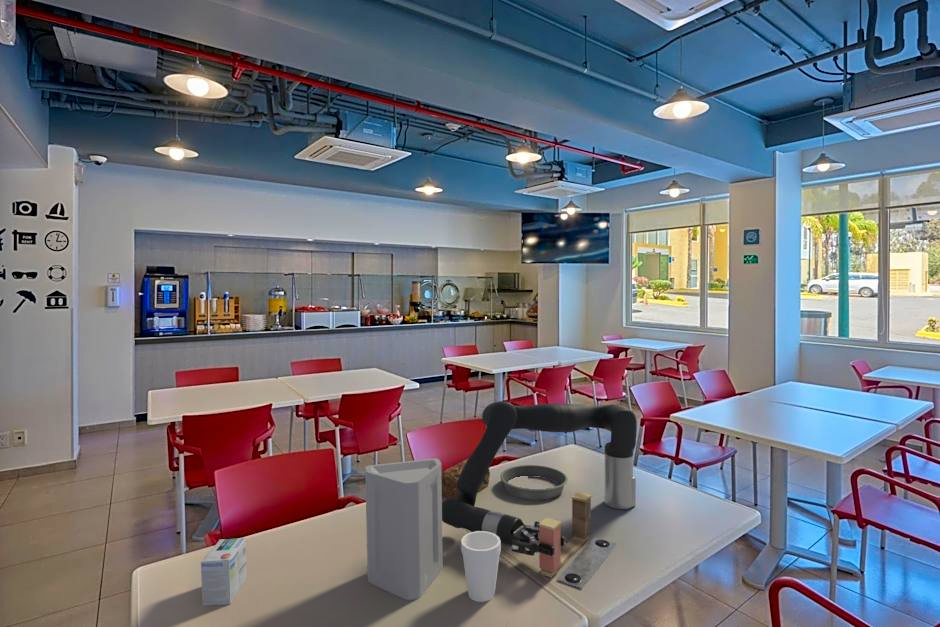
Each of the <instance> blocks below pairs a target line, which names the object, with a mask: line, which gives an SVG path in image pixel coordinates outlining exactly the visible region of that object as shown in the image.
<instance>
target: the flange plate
mask: <svg viewBox="0 0 940 627" xmlns="http://www.w3.org/2000/svg"><path fill="white" fill-rule="evenodd" d="M616 546H617V543H616V542H612V541H609V540H606V539H603V538H600V537H599V538H598V537H593V538H592V539H591V541H590V542H589V543H588V544H587V545H586V546H585V548H583V549H582V551H581V552H580V553H579V554H578V555H577V556H576V558H574V559H573V560H572V561H571V563H570V564H569V565H568V566H567V567H566V568H564V571H563V572H562V573H561V574H560V575H559V576H558V577H557V579H556V580H559V581H558V582H560V581H562V582H561V583H563V582H565V583H564V584H566V583H568V584H571V585H574V586H577V587H579V588H582V587H583V586H584V585H586V584H587V583H588V582H589V580H591V578H592V577H591V576H593V575H594V574H595V573H596V572H595V571H597V570H599V568H600V567H601V565H602V564H603V563H604V561H605V560H606V559H607V558H608V556H609V555H610V554H611V552H612V551H613V550H614V549H615V548H616ZM599 566H600V567H599ZM590 577H591V578H590ZM587 581H588V582H587ZM586 582H587V583H586ZM585 583H586V584H585ZM568 584H567V585H568ZM571 585H570V586H571ZM574 586H573V587H574ZM577 587H576V588H577ZM584 587H585V586H584ZM584 587H583V588H584ZM579 588H578V589H579ZM583 588H582V589H583Z"/></svg>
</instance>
